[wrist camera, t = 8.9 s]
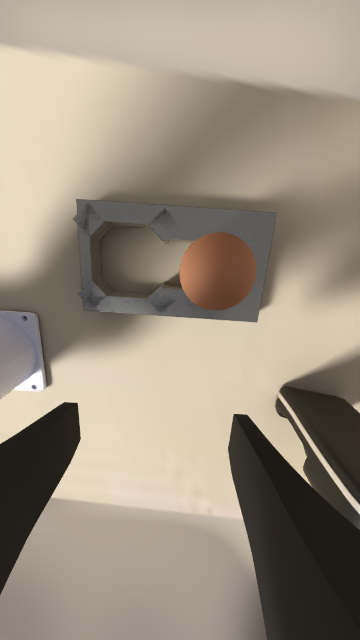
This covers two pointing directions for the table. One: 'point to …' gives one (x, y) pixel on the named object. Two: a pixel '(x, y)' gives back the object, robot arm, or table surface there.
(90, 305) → the keyhole plate
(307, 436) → the battery charger
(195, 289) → the peg
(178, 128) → the table surface
